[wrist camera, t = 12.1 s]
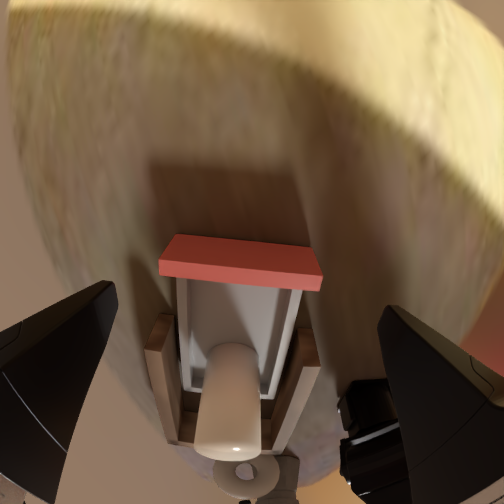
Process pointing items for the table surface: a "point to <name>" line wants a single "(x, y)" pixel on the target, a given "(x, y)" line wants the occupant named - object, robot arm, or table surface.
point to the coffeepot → (281, 483)
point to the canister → (230, 405)
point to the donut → (247, 488)
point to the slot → (184, 422)
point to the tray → (237, 300)
